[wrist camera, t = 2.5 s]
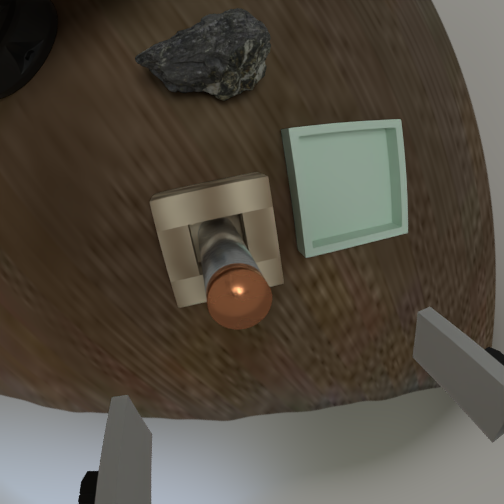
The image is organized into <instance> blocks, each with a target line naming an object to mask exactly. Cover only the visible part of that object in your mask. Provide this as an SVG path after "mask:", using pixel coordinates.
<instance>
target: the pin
mask: <svg viewBox="0 0 504 504" xmlns="http://www.w3.org/2000/svg"><path fill="white" fill-rule="evenodd" d="M198 242H199V249H200V257H201V264H202V271H203V278H204V285H205V292H206V298H207V305H208V310H209V313H210V315H211V316H212V318H213V319H214V320H215V321H216V322H217V323H218V324H220V325H221V326H223V327H226V328H229V329H245V328H249V327H252V326H254V325H256V324H257V323H259V322H260V321H261V320H262V319H263V318H264V317H265V316H266V315H267V313H268V312H269V310H270V307H271V304H272V292H271V289H270V287H269V285H268V283H267V282H266V280H265V278H264V276H263V275H262V273H261V271H260V269H259V268H258V266H257V264H256V263H255V261H254V259H253V257H252V256H251V254H250V252H249V250H248V249H247V247H246V245H245V244H244V242H243V240H242V238H241V237H240V235H239V233H238V231H237V230H236V228H235V226H234V225H233V223H232V222H231V221H230V220H229V219H228V218H226V217H222V218H217V219H212V220H208V221H203V222H202V224H201V225H200V227H199V229H198Z"/></svg>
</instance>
